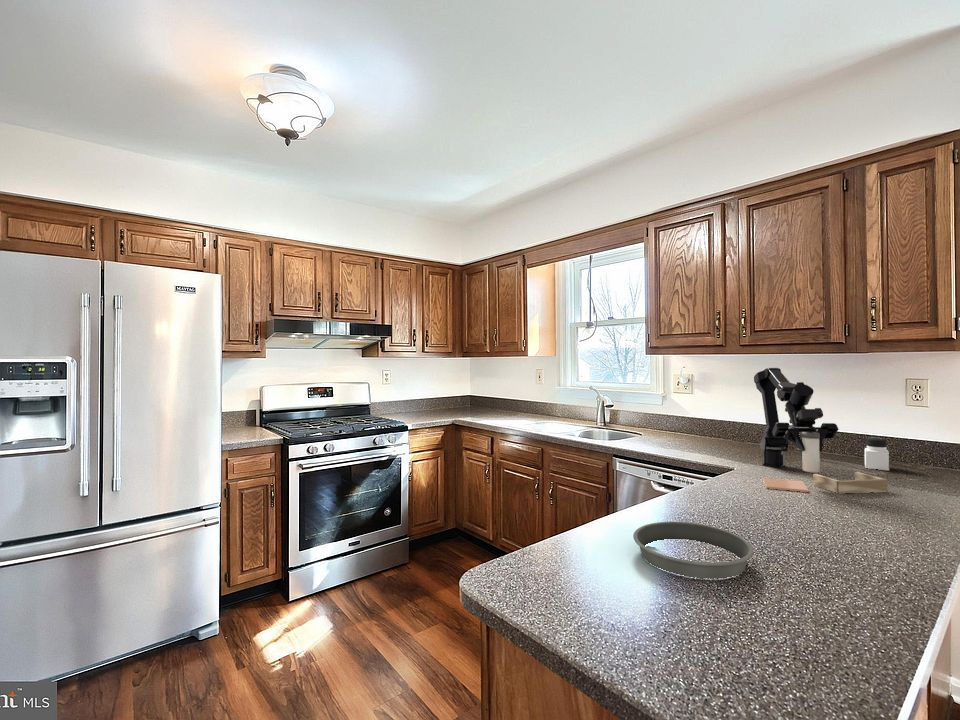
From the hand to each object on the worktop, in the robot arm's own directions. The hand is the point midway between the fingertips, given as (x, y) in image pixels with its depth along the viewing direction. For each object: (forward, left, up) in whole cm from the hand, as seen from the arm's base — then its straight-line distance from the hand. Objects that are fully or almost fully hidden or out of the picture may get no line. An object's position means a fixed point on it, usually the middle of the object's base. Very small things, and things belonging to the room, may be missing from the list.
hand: (812, 450), depth 158 cm
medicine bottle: (+10, +51, -13) cm, 54 cm away
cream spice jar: (-1, +1, -7) cm, 7 cm away
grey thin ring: (-6, -84, -13) cm, 85 cm away
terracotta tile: (-8, -3, -13) cm, 15 cm away
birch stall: (+8, +9, -13) cm, 18 cm away
